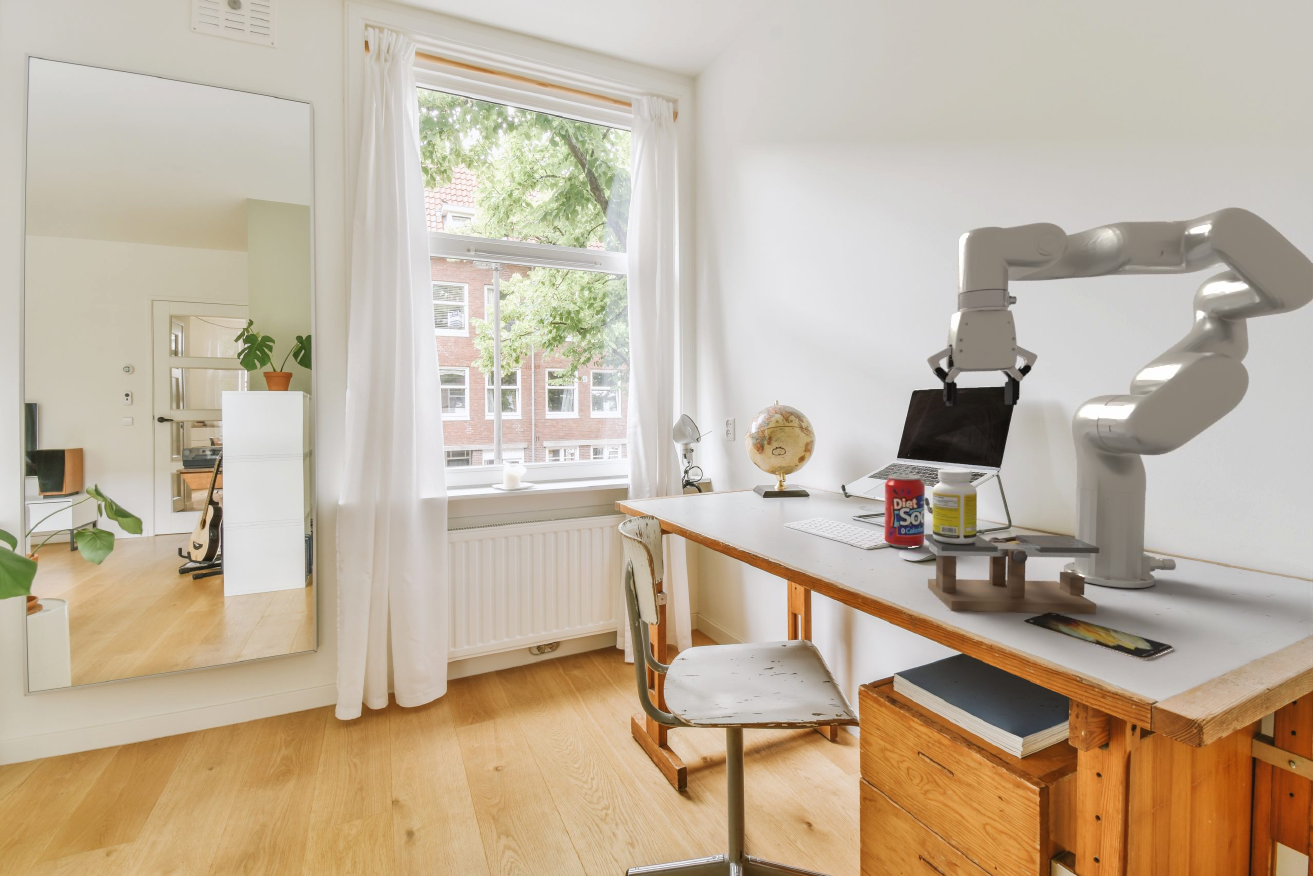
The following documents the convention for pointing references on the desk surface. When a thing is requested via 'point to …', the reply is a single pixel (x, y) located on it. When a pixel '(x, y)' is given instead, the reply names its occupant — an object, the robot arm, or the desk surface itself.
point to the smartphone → (1099, 635)
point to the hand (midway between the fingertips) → (980, 405)
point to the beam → (1017, 547)
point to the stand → (1009, 588)
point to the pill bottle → (954, 507)
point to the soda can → (904, 511)
